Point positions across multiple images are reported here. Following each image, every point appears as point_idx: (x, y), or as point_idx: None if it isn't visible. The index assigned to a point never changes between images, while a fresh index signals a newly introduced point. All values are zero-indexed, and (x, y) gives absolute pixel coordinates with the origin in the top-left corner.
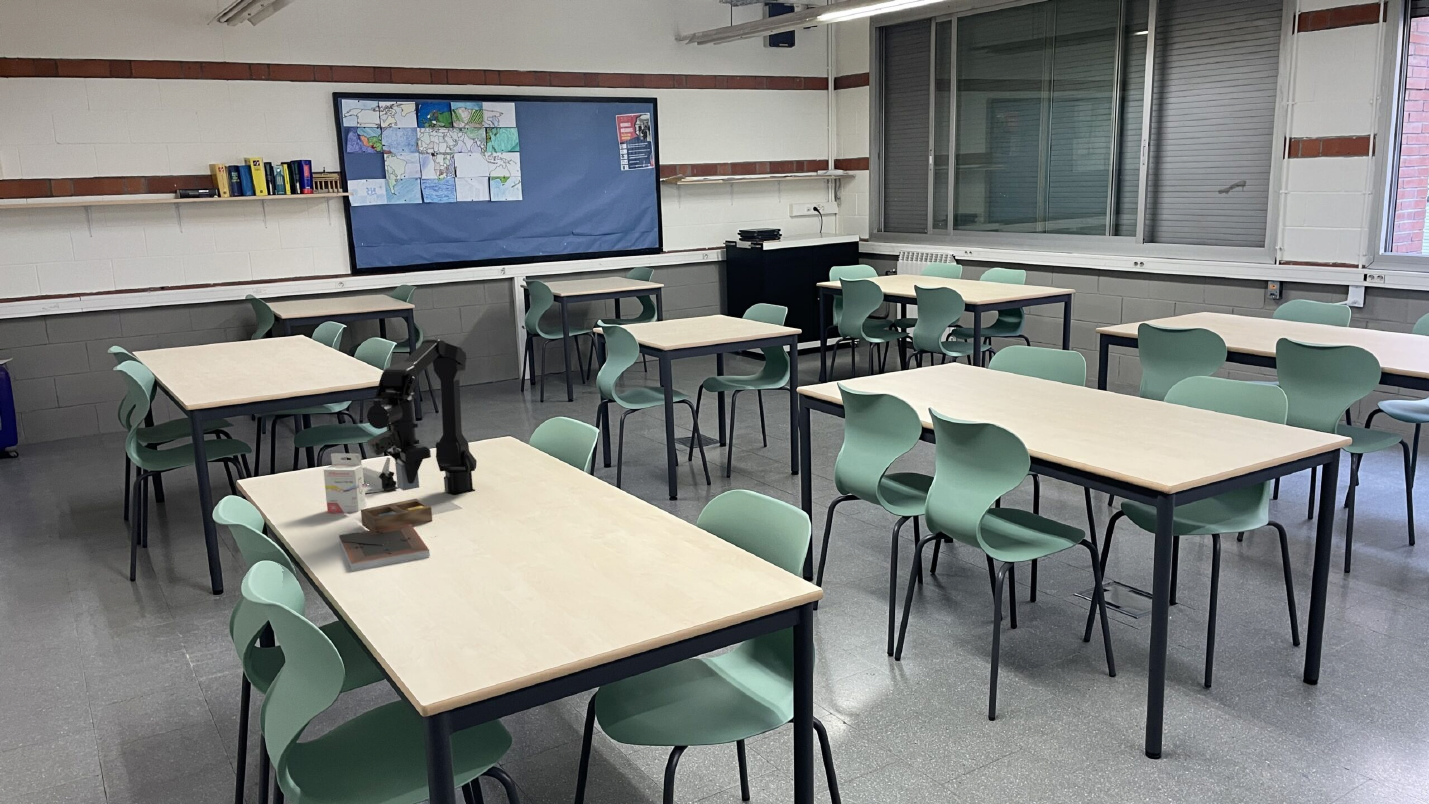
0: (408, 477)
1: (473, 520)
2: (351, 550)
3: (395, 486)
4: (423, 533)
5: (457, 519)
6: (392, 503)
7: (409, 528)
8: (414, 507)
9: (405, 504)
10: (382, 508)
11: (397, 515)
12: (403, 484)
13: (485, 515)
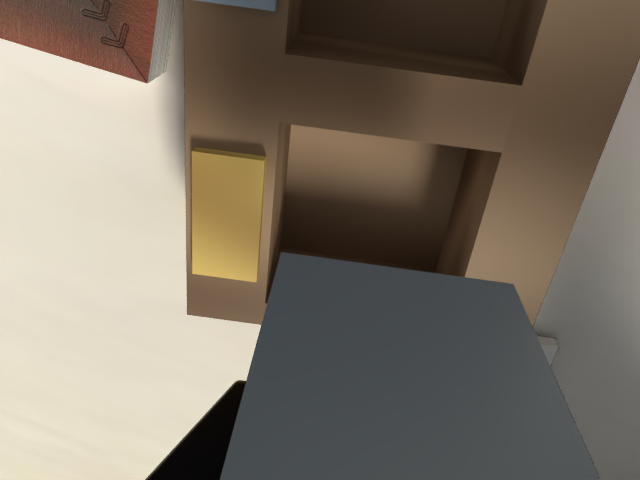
0: (172, 453)
1: (106, 396)
2: None
3: None
4: (30, 95)
5: (182, 361)
6: (586, 164)
7: (24, 10)
8: (246, 221)
9: (472, 237)
10: (542, 6)
11: (189, 9)
12: (266, 313)
13: (149, 461)
